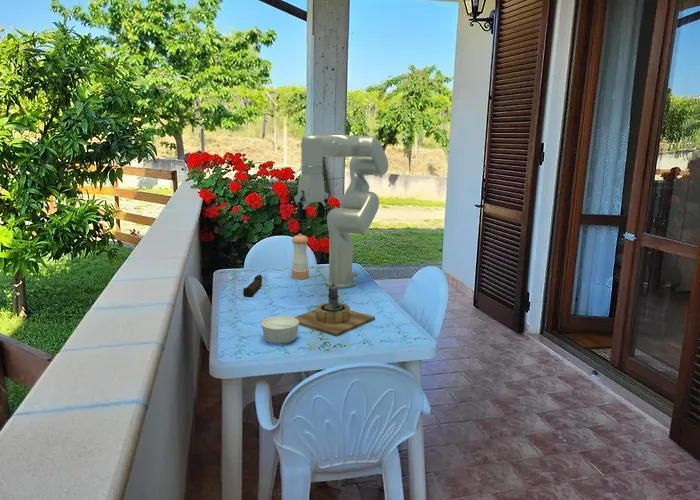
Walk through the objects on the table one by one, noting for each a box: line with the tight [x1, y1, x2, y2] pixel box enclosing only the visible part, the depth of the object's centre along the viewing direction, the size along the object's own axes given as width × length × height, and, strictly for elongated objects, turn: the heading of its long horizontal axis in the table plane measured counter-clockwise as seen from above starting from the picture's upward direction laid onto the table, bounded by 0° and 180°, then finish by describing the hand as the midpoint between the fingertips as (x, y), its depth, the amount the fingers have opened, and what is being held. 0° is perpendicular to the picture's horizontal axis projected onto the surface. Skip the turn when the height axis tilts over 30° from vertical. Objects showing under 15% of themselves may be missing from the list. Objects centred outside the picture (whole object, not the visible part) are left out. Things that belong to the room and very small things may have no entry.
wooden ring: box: [315, 302, 351, 324], centre depth 170 cm, size 11×11×4 cm
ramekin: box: [260, 315, 300, 345], centre depth 155 cm, size 11×11×5 cm
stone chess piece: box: [324, 282, 342, 312], centre depth 170 cm, size 6×6×12 cm
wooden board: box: [293, 309, 376, 337], centre depth 171 cm, size 20×20×1 cm
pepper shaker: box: [291, 233, 310, 281], centre depth 222 cm, size 7×7×19 cm
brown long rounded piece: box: [242, 274, 263, 298], centre depth 204 cm, size 19×4×5 cm, turn 172°
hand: (312, 218), depth 189 cm, fingers open, 9 cm apart
